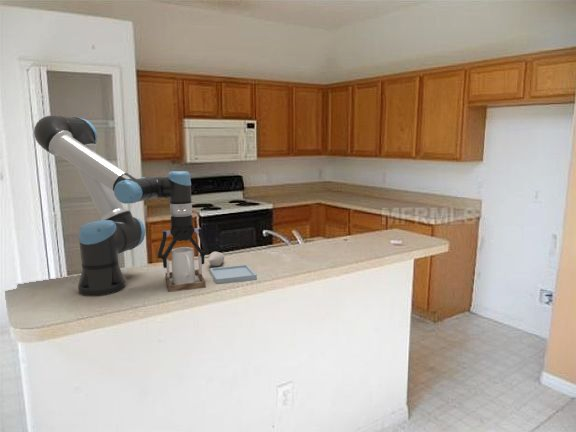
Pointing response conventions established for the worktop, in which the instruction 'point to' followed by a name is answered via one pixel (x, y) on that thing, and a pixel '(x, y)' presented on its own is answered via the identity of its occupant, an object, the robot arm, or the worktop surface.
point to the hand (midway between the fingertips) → (184, 274)
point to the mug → (183, 265)
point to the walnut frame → (186, 285)
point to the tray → (232, 274)
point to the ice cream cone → (216, 258)
